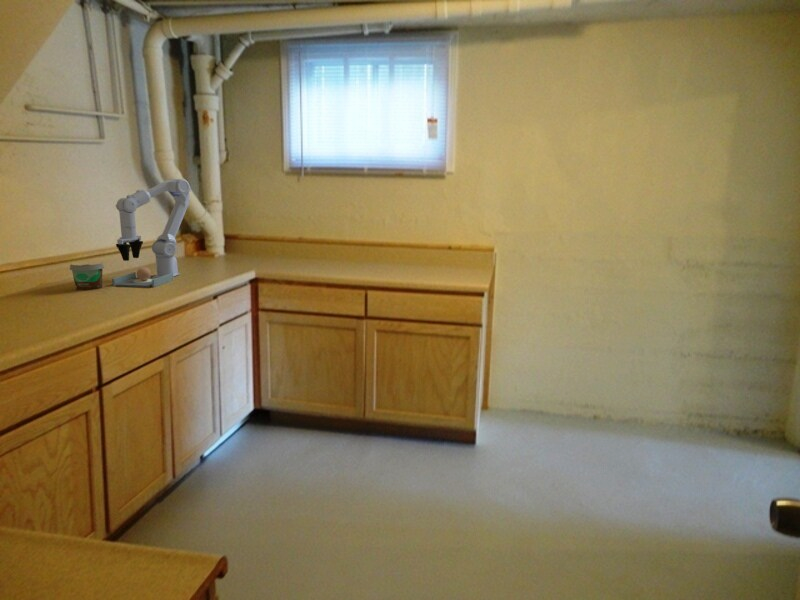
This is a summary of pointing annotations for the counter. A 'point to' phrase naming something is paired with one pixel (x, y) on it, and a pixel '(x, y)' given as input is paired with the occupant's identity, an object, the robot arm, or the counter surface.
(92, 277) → the food container
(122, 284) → the mat
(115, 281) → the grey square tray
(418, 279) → the counter surface
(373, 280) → the counter surface
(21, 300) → the counter surface
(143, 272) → the ball
